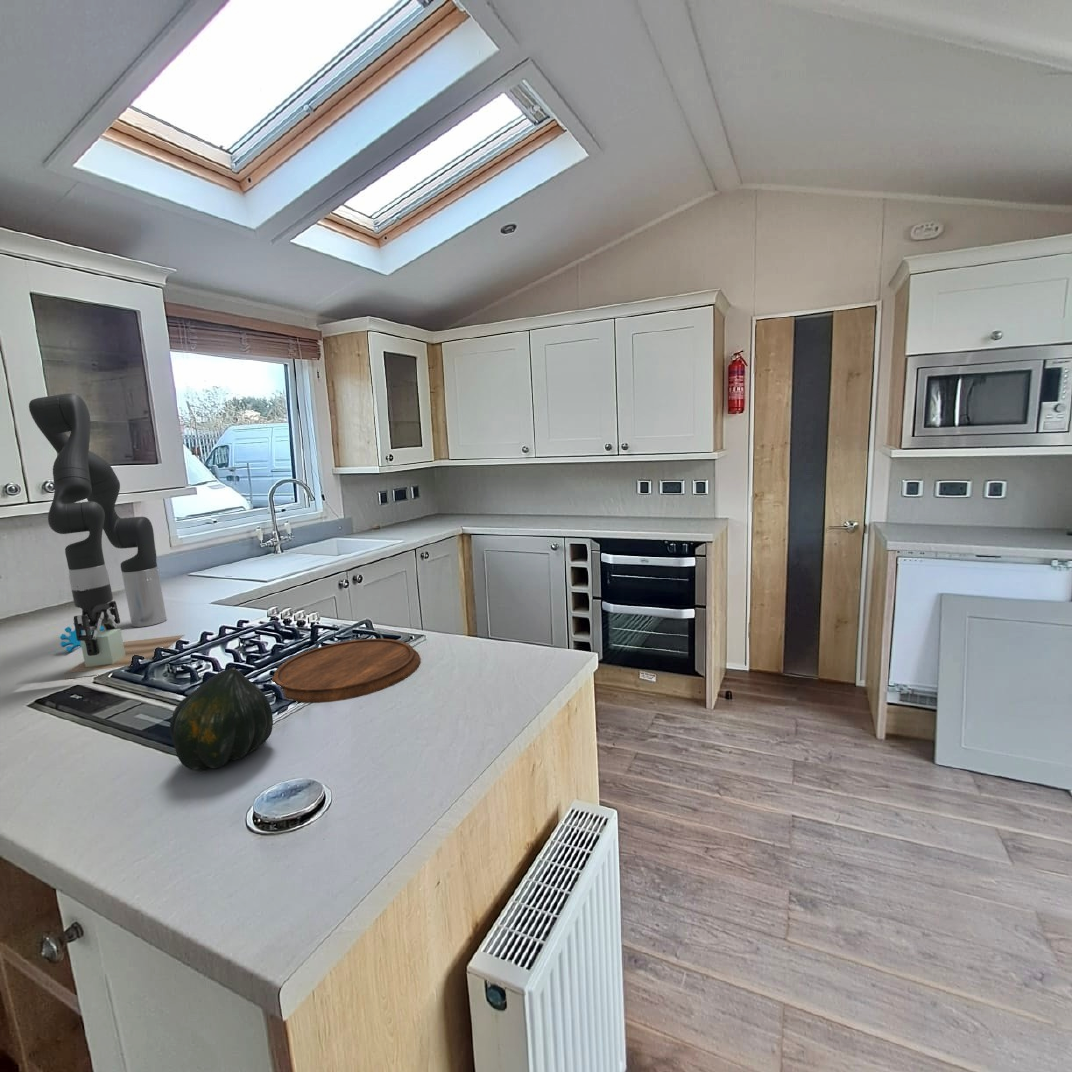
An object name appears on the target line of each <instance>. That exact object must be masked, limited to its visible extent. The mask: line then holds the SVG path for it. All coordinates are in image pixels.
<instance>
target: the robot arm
mask: <svg viewBox="0 0 1072 1072" xmlns="http://www.w3.org/2000/svg"><path fill="white" fill-rule="evenodd" d="M28 410H29V413H30V416H31V418H32V419H33V421H34V424H35V425H36V426H37V428H38V429H39V431H40V432H41V433H42V434H43V436H44V437H45V438H46V440H47V441H48V443H49V444H50V445H51V447H53V449H54V450H55V451H56V453H57V456H56V458H55V460H54V462H53V466H52V476H53V477H52V478H53V486H54V492H53V493H54V494H53V498H52V502H51V504H50V507H49V509H48V514H47V515H48V516H47V523H48V525H49V527H50V529H51V530H52V531H54V532H55V533H56V534H59V535H67V534H75V533H76V534H77V533H84V532H89V534H88V537H87V538H85V539H83V540H79V541H77V542H73V543H70V544H68V545H66V546H65V548H64V551H65V552H64V553H65V558H66V563H67V567H68V568H67V569H68V579H69V585H70V589H71V595H72V598H73V599H72V600H73V603H74V606H75V608H80V609H81V614H80V615H74V616H73V625H74V624H75V626H74V630H76V636H77V640H78V641H85V644H86V649H87V654H88V655H89V656H93V655H97V654H99V648H98V643H97V639H96V636H97V632H98V631H99V630H100V627H101V626H103V628H104V630H113V629H117V627H118V624H120V623H121V618H120V614H119V609H118V605H117V602H116V600H114V597H113V591H112V587H111V581H110V577H109V572H108V569H107V566H106V563H105V558H104V557H105V556H104V552H103V544H102V543H103V541H102V540H103V539H102V538H103V532H104V534H105V536H106V537H107V539H108V541H109V542H110V544H111V545H112V546H113V547H114V548H116V549H133V548H134V549H135V548H137V551H136V554H135V555H133V556H132V557H130V558H128V559H125V560H123V561H122V562H121V563H120V571H121V577H122V580H123V586H124V592H125V597H126V600H127V601H126V602H127V607H128V612H129V617H130V622H131V627H135V628H140V627H149V626H153V625H156V624H161V623H163V622H165V621H167V620H168V619H167V613H166V607H165V601H164V597H163V596H164V595H163V591H162V585H161V580H160V575H159V568H158V564H157V549H156V542H155V541H156V540H155V533H154V528H153V525H152V522H151V520H150V519H149V518H148V517H146V516H133V517H122V518H121V517H119V516H118V514H117V512H116V509H115V507H116V506H115V505H116V503H117V500H118V497H119V494H120V490H121V489H120V488H121V483H120V480H119V478H118V476H117V475H116V472H115V471H114V470H113V467H112V465H111V464H110V463H109V462H108V461H107V460H106V459H104V458H103V457H101V456H100V455H98V454H96V453H94V452H93V451H91V450H90V444H91V442H90V441H91V415H90V411H89V408H88V406H87V404H86V402H85V401H84V400H83V398H82V397H81V396H80V395H79V394H77V393H73V392H72V393H61V394H54V395H49V396H42V397H37V398H34V399H31V400H30V401H29V403H28ZM68 432H69V433H70V434H69V435H68V434H66V433H68ZM85 500H87V501H85ZM81 501H82V502H81ZM113 600H114V601H113ZM81 630H82V631H83V635H82V633H81ZM91 632H92V635H91Z"/></svg>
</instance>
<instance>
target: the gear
mask: <svg viewBox="0 0 1072 1072" xmlns="http://www.w3.org/2000/svg"><path fill="white" fill-rule="evenodd" d="M73 625H74V627H75V624H74V623H73ZM104 630H105V629H104V628H103V626H101V627H100V630H99V631H104ZM64 632H66V633H68V634H69V636H67V635H66V634H65V633H62V634H61V635H60V636H59V639H60V640H62V641H60V646H61V648H65V650H66V651H67V652H68V653H71V652H73V650H74V649H75V651H78V649H80V648H82V647H81V642H80V641H78V640H77V636H76V630H75V629H74V630H73V631H72V628H71V626H67V627H65V628H64ZM81 633H82V635H83V631H82V630H81ZM91 633H92V632H91ZM65 640H68V641H65ZM70 645H71V646H70Z"/></svg>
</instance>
